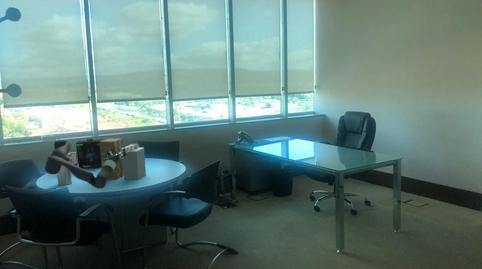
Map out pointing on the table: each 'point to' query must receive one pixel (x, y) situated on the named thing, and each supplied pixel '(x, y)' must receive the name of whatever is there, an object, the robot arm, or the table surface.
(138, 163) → the light grey box
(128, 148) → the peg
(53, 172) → the robot arm
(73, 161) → the candy bar box
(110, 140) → the tall stand
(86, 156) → the headset box
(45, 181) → the table surface
